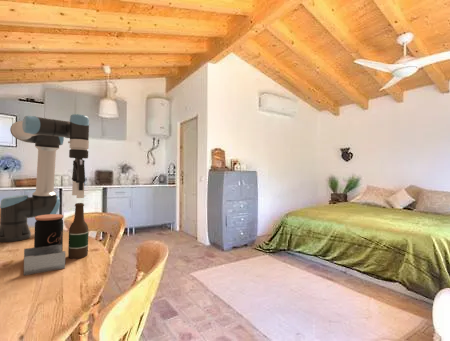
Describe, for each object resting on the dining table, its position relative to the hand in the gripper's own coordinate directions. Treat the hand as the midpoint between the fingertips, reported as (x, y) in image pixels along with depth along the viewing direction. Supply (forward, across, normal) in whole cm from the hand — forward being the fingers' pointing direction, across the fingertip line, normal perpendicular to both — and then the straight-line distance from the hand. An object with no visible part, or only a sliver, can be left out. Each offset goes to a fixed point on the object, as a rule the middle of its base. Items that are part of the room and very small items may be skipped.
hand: (77, 196), depth 118 cm
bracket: (+27, +6, -12) cm, 30 cm away
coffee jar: (+27, -7, -10) cm, 30 cm away
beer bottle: (+27, 0, +1) cm, 27 cm away
